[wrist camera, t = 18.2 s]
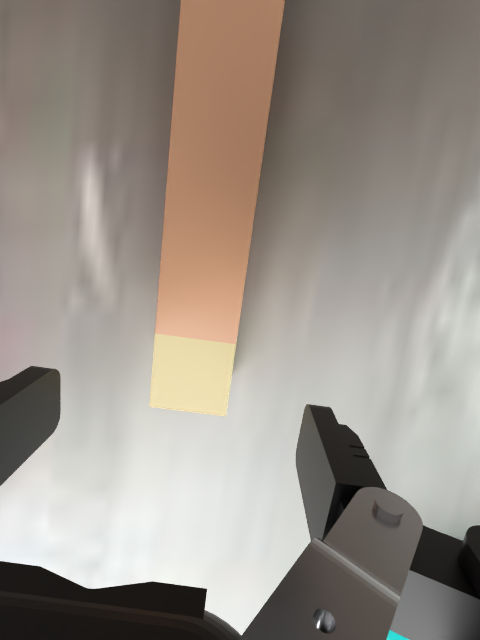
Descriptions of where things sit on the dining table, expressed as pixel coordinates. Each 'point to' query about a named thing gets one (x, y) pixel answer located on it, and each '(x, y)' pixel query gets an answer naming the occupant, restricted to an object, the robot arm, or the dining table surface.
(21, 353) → the dining table surface
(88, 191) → the dining table surface
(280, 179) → the dining table surface
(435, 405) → the dining table surface
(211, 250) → the plug
